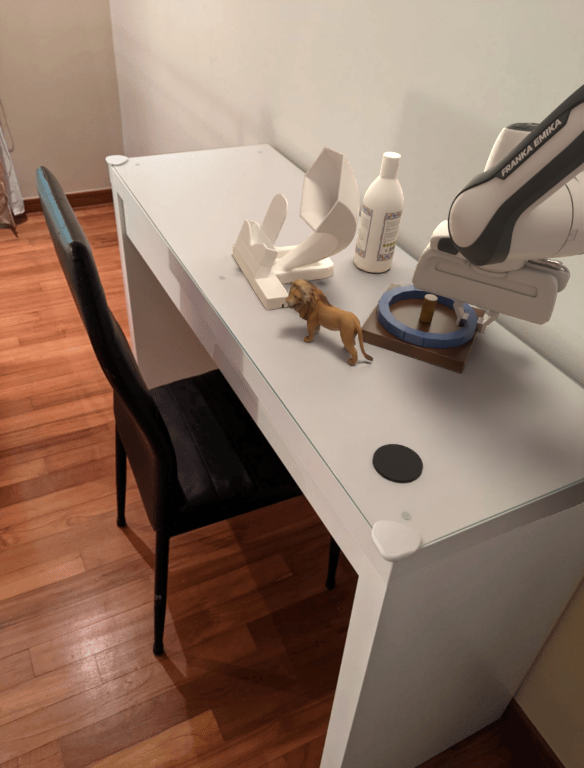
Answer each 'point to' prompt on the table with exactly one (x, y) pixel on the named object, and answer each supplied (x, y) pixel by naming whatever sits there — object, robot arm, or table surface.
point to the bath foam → (380, 218)
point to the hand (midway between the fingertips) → (469, 328)
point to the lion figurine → (325, 316)
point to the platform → (425, 319)
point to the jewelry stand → (311, 258)
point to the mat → (397, 463)
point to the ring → (419, 336)
